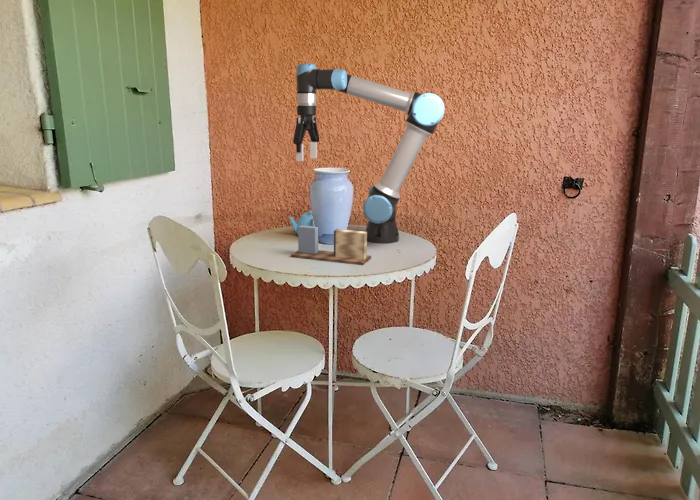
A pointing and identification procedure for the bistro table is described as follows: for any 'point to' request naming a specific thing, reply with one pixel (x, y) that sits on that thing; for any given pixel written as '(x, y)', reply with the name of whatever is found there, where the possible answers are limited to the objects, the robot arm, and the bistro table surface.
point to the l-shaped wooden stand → (343, 249)
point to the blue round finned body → (303, 221)
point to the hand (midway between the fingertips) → (306, 159)
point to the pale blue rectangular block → (308, 239)
